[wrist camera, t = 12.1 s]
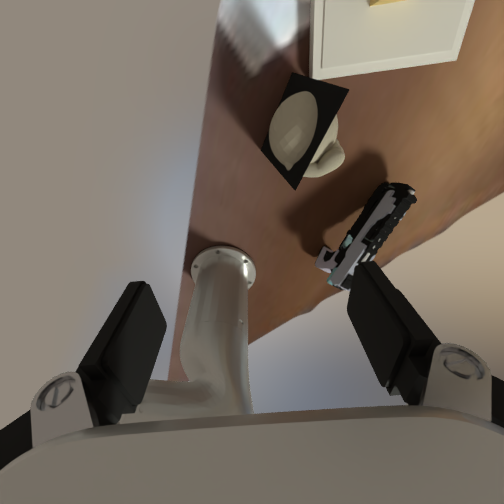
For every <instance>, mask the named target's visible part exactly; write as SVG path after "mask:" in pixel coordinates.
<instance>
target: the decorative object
mask: <svg viewBox="0 0 504 504" xmlns="http://www.w3.org/2000/svg"><path fill="white" fill-rule="evenodd" d="M348 91H349V89H346V88H343V87H339V86H336V85H333V84H329V83H326V82H323V81H319V80H316V79H313V78H309V77H306V76H303V75H300V74H296V73H293V72H292V74H291V77H290V79H289V82H288V84H287V87H286V89H285V92H284V94H283V97H282V99H281V102H280V104H279V106H278V109H277V110H276V112H275V114H274V116H273V118H272V121H271V124H270V129H269V131H268V134H267V136H266V139H265V141H264V144H263V146H262V149H261V151H262V152H263V154H264V155H265V156H266V157H267V158H268V159H269V161H270V162H271V163H272V164H273V165H274V167H275V168H276V169H277V170H278V171H279V172H280V174H281V175H282V176H283V177H284V178H285V179H286V181H287V182H288V183H289V184H290V185H291V186H292V188H293V189H294V190H296V189H297V187H298V185H299V183H300V181H301V179H302V177H320V176H323V175H325V174H327V173H329V172H331V171H333V170H335V169H336V168H338V167H339V166H340V165H341V164H342V163H343V161H344V158H345V154H344V152H343V148H342V147H341V146H340V145H339V142H338V140H337V139H336V137H337V131H338V119H337V115H336V114H337V112H338V110H339V108H340V106H341V104H342V103H343V101H344V99H345V97H346V95H347V93H348Z"/></svg>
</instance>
